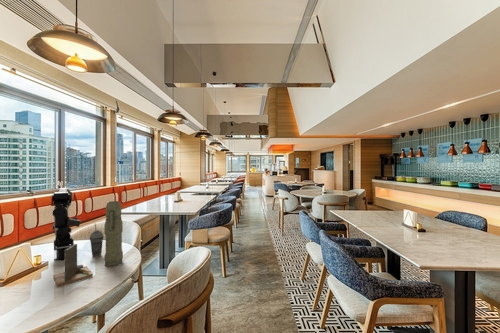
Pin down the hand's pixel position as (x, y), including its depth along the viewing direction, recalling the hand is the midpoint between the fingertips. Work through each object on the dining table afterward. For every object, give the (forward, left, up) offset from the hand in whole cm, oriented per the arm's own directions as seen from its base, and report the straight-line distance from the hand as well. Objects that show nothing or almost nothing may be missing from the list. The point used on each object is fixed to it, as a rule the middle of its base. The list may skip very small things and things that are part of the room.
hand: (61, 244), depth 123 cm
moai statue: (+24, +9, -13) cm, 29 cm away
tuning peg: (+19, -8, -11) cm, 24 cm away
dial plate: (+16, -8, -13) cm, 22 cm away
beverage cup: (+5, +18, -13) cm, 23 cm away
